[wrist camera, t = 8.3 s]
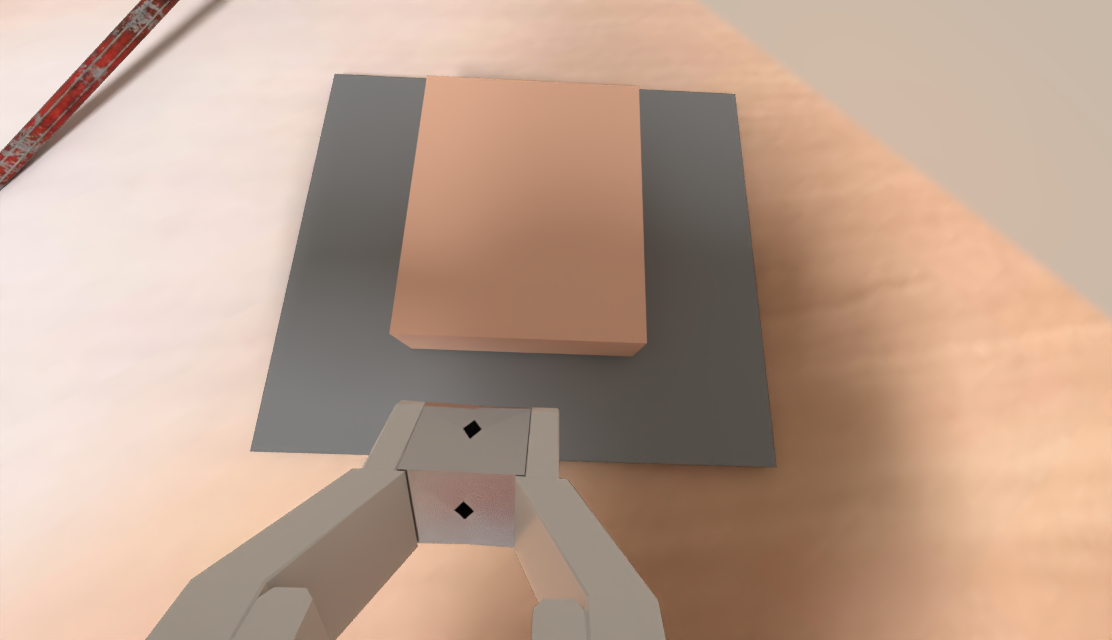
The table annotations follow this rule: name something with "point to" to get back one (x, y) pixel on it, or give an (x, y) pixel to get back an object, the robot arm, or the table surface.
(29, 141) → the crowbar
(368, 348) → the mat
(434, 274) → the block
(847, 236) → the table surface
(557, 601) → the robot arm
